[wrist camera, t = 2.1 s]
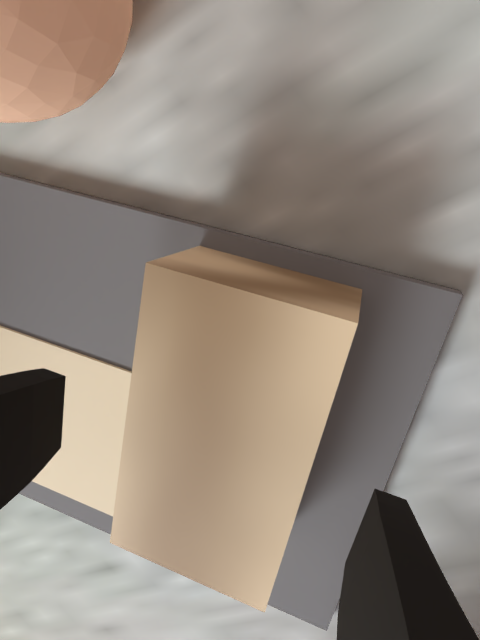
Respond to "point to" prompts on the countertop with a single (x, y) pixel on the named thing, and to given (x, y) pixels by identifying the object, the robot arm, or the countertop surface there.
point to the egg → (57, 54)
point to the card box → (227, 414)
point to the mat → (118, 352)
